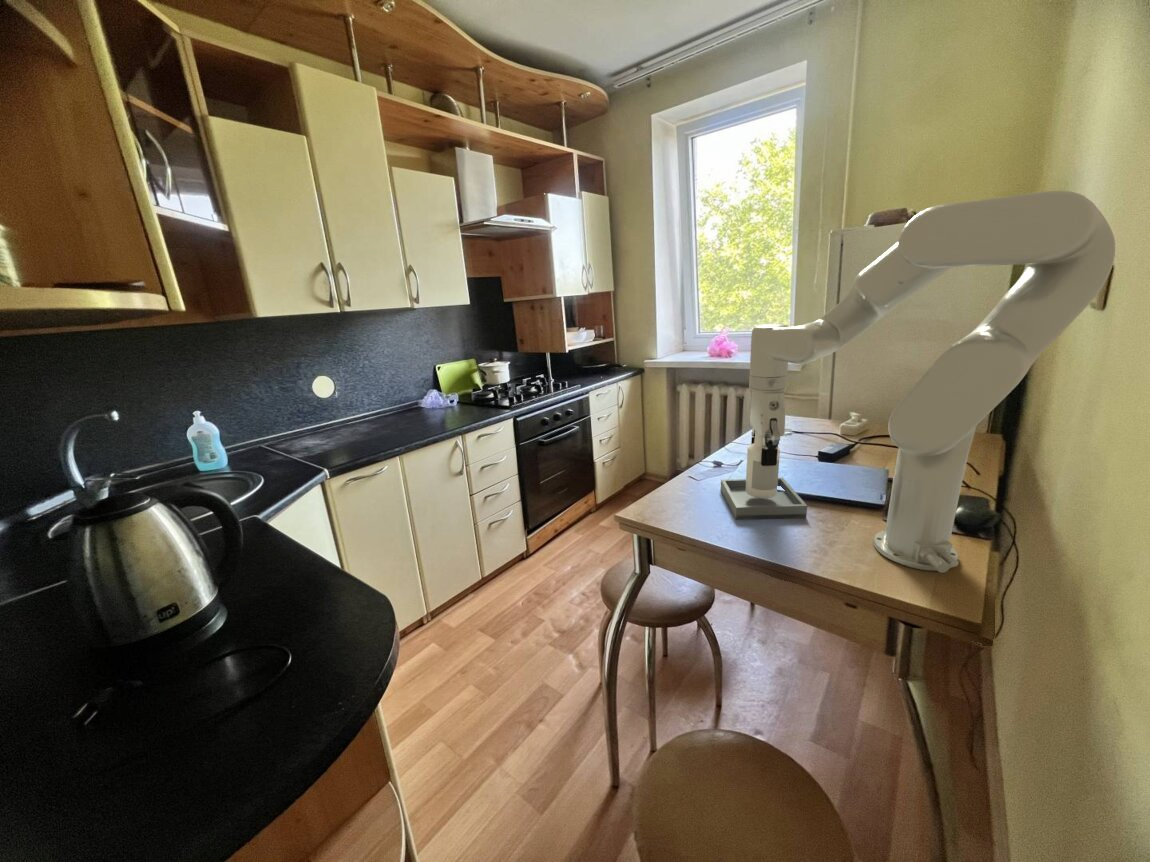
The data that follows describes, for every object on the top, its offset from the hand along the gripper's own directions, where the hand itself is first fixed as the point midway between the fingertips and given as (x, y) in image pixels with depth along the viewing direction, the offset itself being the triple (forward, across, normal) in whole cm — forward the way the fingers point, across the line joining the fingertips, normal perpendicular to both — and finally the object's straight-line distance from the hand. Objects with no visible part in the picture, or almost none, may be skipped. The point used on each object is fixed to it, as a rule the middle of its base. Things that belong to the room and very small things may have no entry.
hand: (763, 458), depth 103 cm
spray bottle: (+9, 0, 0) cm, 9 cm away
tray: (+11, 0, 0) cm, 11 cm away
